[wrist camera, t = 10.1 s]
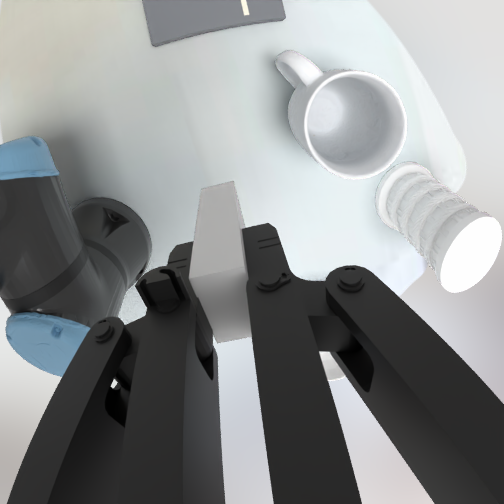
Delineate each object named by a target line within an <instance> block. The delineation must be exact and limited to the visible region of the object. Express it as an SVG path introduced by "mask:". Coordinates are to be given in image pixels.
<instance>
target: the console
mask: <svg viewBox="0 0 504 504" xmlns="http://www.w3.org/2000/svg"><path fill="white" fill-rule="evenodd" d="M142 1H143V6H144V11H145V15H146V20H147V24H148V29H149V33H150V37H151V42H152V45H153V46H155V47H157V46H160V45H163V44H166V43H170V42H173V41H177V40H180V39H184V38H188V37H191V36H195V35H200V34H204V33H208V32H213V31H217V30H222V29H227V28H233V27H238V26H244V25H251V24H257V23H265V22H273V21H283V20H284V19H285V18H286V16H285V11H284V7H283V3H282V0H142Z"/></svg>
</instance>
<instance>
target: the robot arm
mask: <svg viewBox="0 0 504 504" xmlns="http://www.w3.org/2000/svg"><path fill="white" fill-rule="evenodd" d="M59 175H60V174H59V170H57V169H56V167H55V164H54V162H53V159H52V156H51V154H50V151H49V148H48V145H47V144H46V142H45V141H44V140H43V139H42V138H40V137H37V136H28V137H23V138H20V139H16V140H13V141H10V142H7V143H4V144H1V145H0V297H1V298H2V300H3V301H4V303H5V305H6V306H7V308H8V309H9V311H10V313H11V316H10V317H9V318H8V319H7V323H6V324H7V326H6V336H7V340H8V342H9V343H10V345H11V346H12V348H13V349H14V350H15V351H16V352H17V353H18V354H19V355H20V356H21V357H22V358H23V359H25V360H26V361H27V362H29V363H31V364H32V365H34V366H36V367H37V368H39V369H41V370H43V371H46V372H48V373H51V374H53V375H57V376H61V377H62V379H61V380H60V383H59V384H58V386H57V388H56V390H55V392H54V394H53V396H52V398H51V400H50V402H49V404H48V406H47V408H46V410H45V412H44V414H43V416H42V418H41V420H40V423H39V425H38V427H37V429H36V431H35V434H34V436H33V438H32V440H31V442H30V445H29V447H28V449H27V452H26V454H25V456H24V459H23V461H22V464H21V466H20V469H19V471H18V474H17V477H16V480H15V482H14V485H13V488H12V490H11V493H10V497H9V499H8V502H7V504H225V493H224V480H223V465H222V449H221V431H220V411H219V386H218V357H217V353H216V351H215V348H214V346H213V335H214V337H215V340H216V342H217V343H221V342H227V341H232V340H237V339H242V338H247V337H252V342H253V351H254V358H255V366H256V374H257V382H258V390H259V398H260V405H261V413H262V421H263V428H264V435H265V443H266V451H267V458H268V465H269V472H270V480H271V487H272V494H273V501H274V504H362V502H361V498H360V494H359V490H358V487H357V483H356V479H355V475H354V471H353V467H352V464H351V460H350V456H349V452H348V449H347V445H346V442H345V438H344V434H343V431H342V427H341V424H340V420H339V417H338V413H337V410H336V407H335V403H334V400H333V396H332V393H331V389H330V386H329V383H328V379H327V376H326V373H325V369H324V366H323V363H322V360H321V356H320V353H319V352H330V354H331V356H332V357H333V358H334V360H335V361H336V363H337V364H338V366H339V367H340V368H341V370H342V371H343V373H344V374H345V376H346V377H347V378H348V380H349V381H350V383H351V384H352V385H353V387H354V388H355V390H356V391H357V393H358V394H359V395H360V397H361V398H362V400H363V401H364V403H365V404H366V405H367V407H368V408H369V410H370V411H371V413H372V414H373V415H374V417H375V418H376V420H377V421H378V423H379V424H380V426H381V427H382V428H383V430H384V431H385V432H386V434H387V436H388V437H389V438H390V440H391V441H392V443H393V444H394V446H395V447H396V448H397V450H398V451H399V453H400V454H401V456H402V457H403V458H404V460H405V461H406V463H407V464H408V466H409V467H410V468H411V470H412V472H413V473H414V474H415V476H416V477H417V479H418V480H419V482H420V483H421V484H422V486H423V487H424V489H425V490H426V492H427V493H428V495H429V496H430V498H431V499H432V500H433V502H434V503H435V504H504V404H503V403H502V402H501V401H500V400H499V399H498V397H497V396H496V395H495V394H494V393H493V392H492V390H491V389H490V388H489V387H488V386H487V385H486V384H485V383H484V382H483V381H482V379H481V378H480V377H479V376H478V375H477V374H476V373H475V372H474V371H473V370H472V369H471V368H470V367H469V366H468V365H467V364H466V362H465V361H464V360H462V358H461V357H460V356H459V355H458V354H457V353H456V352H455V351H454V350H453V349H452V348H451V347H450V346H449V345H448V344H447V343H446V342H445V341H444V340H443V339H442V338H441V337H440V336H439V335H438V334H437V333H436V332H435V331H434V330H433V329H432V328H431V327H430V326H429V325H428V324H427V323H426V322H425V321H424V320H423V319H422V318H421V317H420V316H418V314H416V313H415V312H414V311H413V310H412V309H411V308H410V307H409V306H408V305H407V304H406V303H405V302H404V301H403V300H402V299H400V297H398V296H397V295H396V294H395V293H394V292H393V291H392V290H391V289H390V288H389V287H388V286H386V285H385V284H384V283H383V282H382V281H381V280H380V279H379V278H378V277H377V276H375V275H374V274H373V273H372V272H371V271H369V270H367V269H366V268H364V267H360V266H356V265H352V266H343V267H339V268H337V269H335V270H333V271H332V272H330V273H329V275H328V276H327V278H326V281H307V280H303V279H300V278H298V277H296V276H295V275H294V274H293V273H292V272H291V270H290V269H289V266H288V263H287V260H286V257H285V254H284V251H283V248H282V245H281V242H280V239H279V236H278V233H277V230H276V228H275V227H273V226H272V225H270V224H269V223H266V224H261V225H257V226H252V227H248V228H245V224H244V220H243V216H242V212H241V208H240V204H239V200H238V196H237V192H236V188H235V184H234V181H231V182H227V183H223V184H219V185H215V186H210V187H207V188H203V189H201V195H200V201H199V207H198V214H197V221H196V228H195V235H194V241H192V242H188V243H184V244H180V245H176V247H175V248H174V249H173V250H172V252H171V253H170V255H169V259H168V264H167V266H162V267H158V268H155V269H152V270H151V271H149V272H147V273H146V274H144V275H143V273H144V272H145V270H146V268H147V265H148V262H149V259H150V255H151V239H150V235H149V232H148V230H147V228H146V226H145V224H144V223H143V221H142V220H141V218H140V217H139V216H138V215H137V214H136V213H135V212H134V211H133V210H131V209H130V208H129V207H127V206H126V205H124V204H122V203H120V202H118V201H115V200H112V199H107V198H94V199H89V200H86V201H84V202H82V203H80V204H79V205H77V206H76V207H75V208H74V209H73V210H72V211H71V209H70V206H69V204H68V201H67V198H66V196H65V193H64V190H63V187H62V185H61V182H60V178H59ZM142 275H143V276H142ZM141 276H142V277H141ZM140 277H141V278H140ZM139 278H140V279H139ZM138 279H139V280H138ZM137 280H138V282H137V284H136V285H135V287H136V289H137V291H138V292H139V294H140V296H141V298H142V300H143V302H144V303H145V305H146V307H147V311H146V316H144V317H142V318H140V319H138V320H136V321H133V322H131V323H129V324H126V325H124V323H123V322H122V321H121V320H120V318H118V315H119V311H120V308H121V305H122V302H123V299H124V296H125V293H126V291H127V290H128V289H129V288H130V287H131V286H132V285H133V284H134V283H135V282H136V281H137ZM114 379H115V380H116V381H117V382H118V383H117V385H116V386H115V388H112V387H111V384H112V382H113V380H114Z"/></svg>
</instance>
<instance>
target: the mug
mask: <svg viewBox="0 0 504 504" xmlns="http://www.w3.org/2000/svg"><path fill="white" fill-rule="evenodd" d="M275 64H276V67H277V68H278V70H279V71H280V72H281V74H282V75H283V76H284V77H285V78H286V79H287V80H288V82H289V83H290V84H291V85H292V86H293V87H294V88H295V91H294V93H293V94H292V96H291V99H290V102H289V105H288V118H289V124H290V127H291V130H292V132H293V135H294V136H295V138H296V140H297V141H298V143H299V144H300V145H301V147H302V148H303V149H304V150H305V151H306V152H307V153H308V154H309V155H310V156H311V157H312V158H313V159H314V160H315V161H316V162H317V163H319V164H320V165H321V166H322V167H323V168H325V169H326V170H327V171H329V172H330V173H332V174H334V175H336V176H339V177H342V178H346V179H357V180H358V179H365V178H369V177H372V176H375V175H377V174H379V173H381V172H382V171H384V170H385V169H386V168H387V167H389V166H390V165H391V164H392V163H393V161H394V160H395V159H396V158H397V156H398V155H399V153H400V151H401V149H402V147H403V145H404V142H405V138H406V133H407V118H406V112H405V109H404V106H403V103H402V101H401V99H400V97H399V95H398V94H397V92H396V91H395V90H394V88H393V87H392V86H391V85H390V84H389V83H387V82H386V81H385V80H383V79H382V78H380V77H378V76H376V75H374V74H372V73H368V72H364V71H357V70H350V69H349V70H344V69H343V70H329V71H325V72H322V71H321V70H320V69H319V68H318V67H317V66H316V65H315V64H314V63H313V62H311V61H310V60H309V59H307V58H306V57H305V56H303V55H302V54H300V53H298V52H296V51H293V50H287V51H284V52H282V53H281V54H279V55H278V56H277V58H276V60H275Z"/></svg>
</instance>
